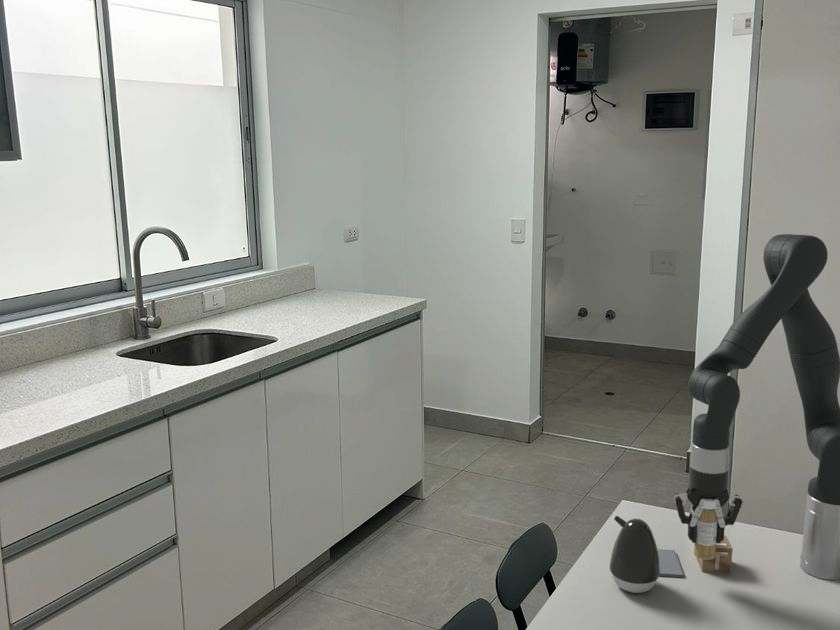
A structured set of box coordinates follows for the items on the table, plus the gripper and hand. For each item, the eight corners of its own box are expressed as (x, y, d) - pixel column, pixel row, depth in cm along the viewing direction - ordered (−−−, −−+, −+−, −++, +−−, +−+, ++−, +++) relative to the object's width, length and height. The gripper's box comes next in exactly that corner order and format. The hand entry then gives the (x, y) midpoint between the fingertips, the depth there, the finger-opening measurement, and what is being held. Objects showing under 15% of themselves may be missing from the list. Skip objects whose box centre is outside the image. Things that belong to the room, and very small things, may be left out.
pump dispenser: (624, 568, 180) (628, 504, 177) (667, 586, 173) (672, 519, 170) (598, 586, 173) (601, 519, 170) (642, 605, 166) (646, 536, 163)
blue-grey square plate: (674, 552, 187) (674, 550, 187) (683, 577, 176) (683, 574, 176) (625, 549, 188) (625, 547, 188) (631, 574, 178) (631, 571, 178)
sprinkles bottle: (700, 548, 176) (703, 489, 173) (720, 556, 172) (723, 496, 169) (688, 555, 173) (691, 496, 170) (708, 563, 169) (711, 503, 167)
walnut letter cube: (723, 560, 184) (726, 534, 183) (730, 574, 178) (732, 548, 177) (696, 558, 185) (698, 533, 183) (702, 572, 179) (704, 546, 177)
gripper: (740, 458, 171) (735, 534, 175) (670, 457, 173) (667, 532, 176) (750, 473, 164) (745, 551, 167) (677, 471, 165) (673, 549, 169)
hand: (705, 541), depth 172 cm, fingers closed on sprinkles bottle, 4 cm apart
